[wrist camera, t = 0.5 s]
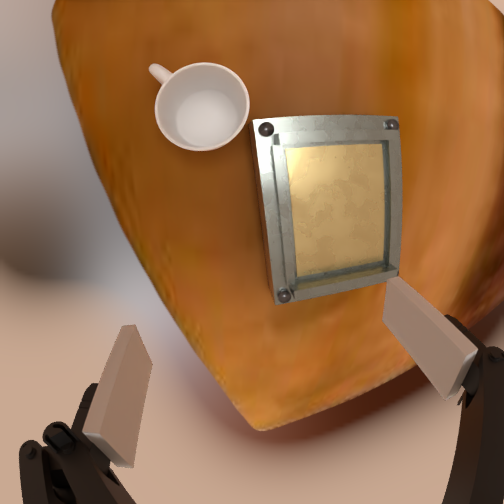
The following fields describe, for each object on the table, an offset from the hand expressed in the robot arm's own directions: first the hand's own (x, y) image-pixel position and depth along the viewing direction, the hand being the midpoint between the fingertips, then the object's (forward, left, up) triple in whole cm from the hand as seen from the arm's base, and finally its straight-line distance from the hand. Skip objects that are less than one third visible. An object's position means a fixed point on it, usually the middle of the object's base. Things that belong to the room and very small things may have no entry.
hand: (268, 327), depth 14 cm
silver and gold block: (0, +12, -24) cm, 27 cm away
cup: (-14, -3, -24) cm, 28 cm away
